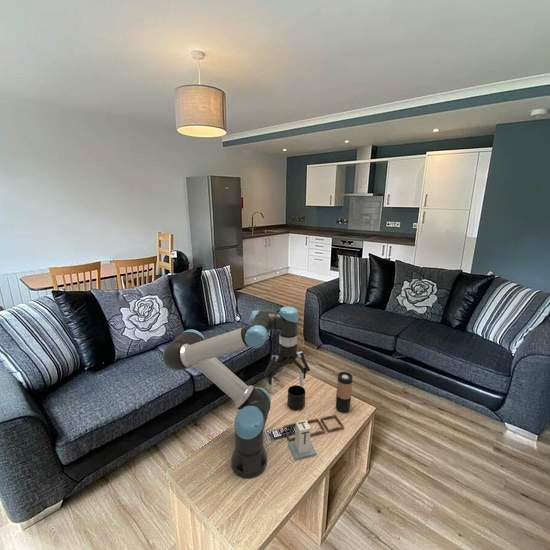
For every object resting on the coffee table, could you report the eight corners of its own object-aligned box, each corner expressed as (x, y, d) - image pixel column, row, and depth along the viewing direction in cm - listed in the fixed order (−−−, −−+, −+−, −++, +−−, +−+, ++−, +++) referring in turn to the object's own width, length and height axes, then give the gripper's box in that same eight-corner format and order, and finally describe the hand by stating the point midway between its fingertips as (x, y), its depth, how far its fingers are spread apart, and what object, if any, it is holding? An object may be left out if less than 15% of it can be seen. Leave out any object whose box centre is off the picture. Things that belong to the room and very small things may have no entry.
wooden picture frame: (288, 441, 134) (288, 438, 134) (283, 428, 142) (283, 425, 142) (305, 437, 136) (306, 435, 136) (299, 424, 144) (299, 422, 144)
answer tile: (295, 460, 124) (295, 458, 124) (288, 444, 133) (288, 442, 132) (316, 455, 127) (316, 453, 127) (308, 439, 136) (308, 437, 135)
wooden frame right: (328, 432, 140) (328, 430, 139) (320, 420, 148) (320, 417, 147) (343, 429, 142) (343, 426, 142) (335, 417, 150) (335, 414, 150)
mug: (311, 403, 160) (312, 388, 158) (296, 413, 152) (297, 398, 150) (298, 395, 167) (299, 381, 164) (283, 404, 159) (284, 390, 156)
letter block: (298, 453, 127) (299, 430, 124) (294, 444, 131) (295, 422, 128) (309, 451, 128) (310, 428, 125) (305, 442, 133) (306, 419, 130)
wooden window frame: (308, 437, 137) (308, 434, 137) (302, 424, 145) (302, 421, 144) (325, 433, 139) (325, 430, 139) (317, 420, 147) (317, 418, 147)
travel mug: (334, 403, 160) (336, 371, 155) (348, 404, 160) (351, 371, 155) (336, 413, 153) (339, 379, 148) (351, 413, 152) (354, 380, 148)
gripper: (261, 351, 115) (261, 398, 120) (319, 343, 122) (316, 388, 127) (256, 342, 122) (256, 387, 127) (311, 336, 129) (309, 378, 134)
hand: (286, 387), depth 127 cm, fingers open, 13 cm apart
